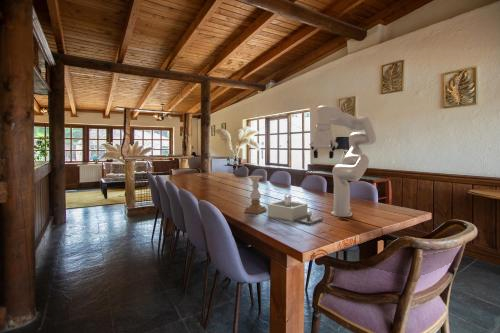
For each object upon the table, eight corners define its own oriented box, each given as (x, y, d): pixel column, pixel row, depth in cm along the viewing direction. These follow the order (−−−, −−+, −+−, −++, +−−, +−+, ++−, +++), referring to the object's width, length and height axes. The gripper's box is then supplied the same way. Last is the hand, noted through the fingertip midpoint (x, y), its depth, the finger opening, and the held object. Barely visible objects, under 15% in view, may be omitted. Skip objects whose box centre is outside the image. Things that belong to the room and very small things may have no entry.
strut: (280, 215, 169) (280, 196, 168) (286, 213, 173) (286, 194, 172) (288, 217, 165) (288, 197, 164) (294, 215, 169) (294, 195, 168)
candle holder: (253, 209, 191) (253, 175, 189) (266, 211, 185) (266, 175, 183) (244, 212, 182) (243, 176, 180) (257, 214, 176) (257, 177, 174)
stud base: (307, 217, 167) (307, 207, 167) (322, 220, 160) (322, 209, 160) (294, 222, 157) (294, 211, 157) (309, 225, 150) (309, 214, 150)
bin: (283, 212, 181) (283, 200, 180) (307, 216, 168) (307, 204, 168) (268, 216, 169) (267, 204, 169) (292, 222, 157) (292, 208, 156)
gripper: (306, 128, 160) (306, 158, 161) (334, 127, 148) (334, 158, 149) (313, 129, 165) (313, 157, 166) (341, 127, 153) (340, 158, 154)
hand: (323, 158), depth 158 cm, fingers open, 9 cm apart
